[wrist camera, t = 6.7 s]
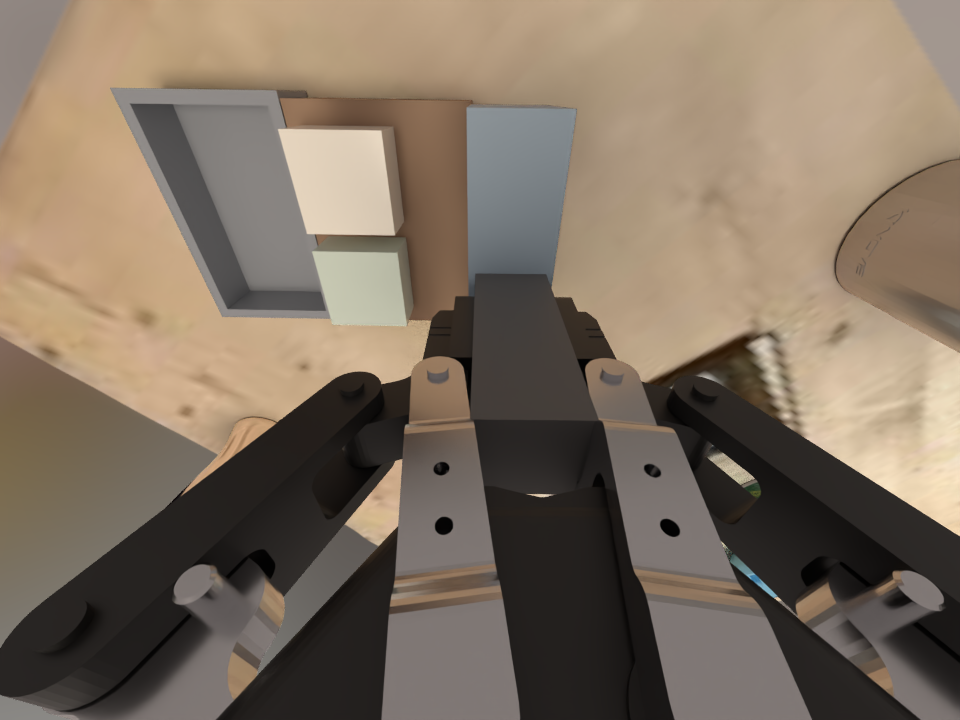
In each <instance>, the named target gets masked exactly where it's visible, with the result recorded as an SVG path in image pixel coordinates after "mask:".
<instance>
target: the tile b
mask: <svg viewBox="0 0 960 720" xmlns="http://www.w3.org/2000/svg"><path fill="white" fill-rule="evenodd" d="M312 253H313V257H314V260H315V264H316V268H317V271H318V275H319V278H320V282H321V285H322V289H323V293H324V296H325V300H326V303H327V307H328V310H329V314H330V318H331V321H332V325H372V326H407V325H408V322H409V319H410V316H411V313H412V310H413V307H414V304H413V295H412V286H411V277H410V269H409V260H408V251H407V242H406V237H345V236H329V237H328V238H326V239H325V240H324V241H323V242H322V243H321V244H320V245H319V246H317V247H316V248H315V249H314V250H313V251H312Z"/></svg>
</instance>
